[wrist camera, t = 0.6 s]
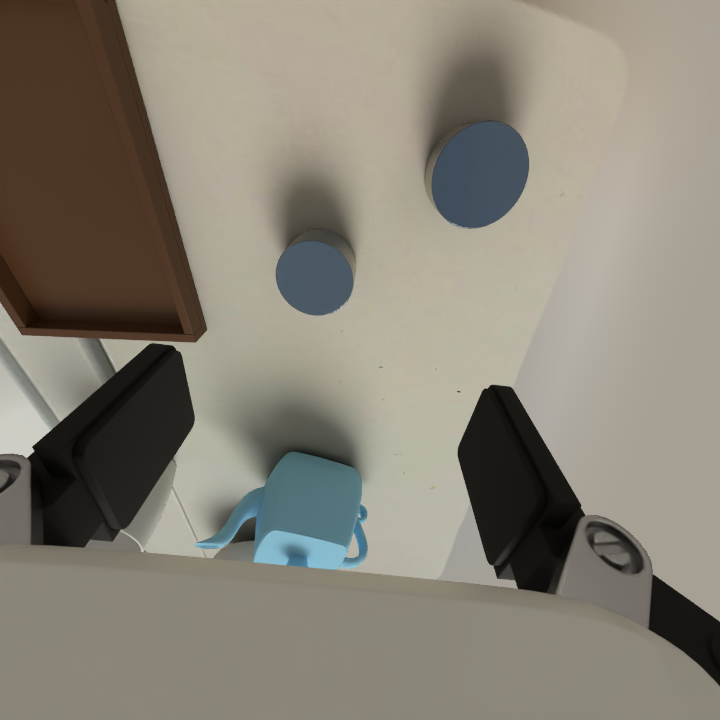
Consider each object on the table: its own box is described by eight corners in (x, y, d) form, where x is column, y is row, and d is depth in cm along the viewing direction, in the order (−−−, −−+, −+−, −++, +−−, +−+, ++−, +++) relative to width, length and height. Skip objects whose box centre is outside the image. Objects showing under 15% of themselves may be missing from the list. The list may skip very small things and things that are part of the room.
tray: (-160, -19, 18) (-223, -37, 16) (111, -15, 18) (79, -33, 16) (43, 323, 30) (21, 335, 28) (207, 329, 30) (195, 342, 28)
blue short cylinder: (298, 215, 24) (287, 226, 21) (367, 247, 25) (365, 261, 22) (279, 281, 27) (267, 298, 24) (341, 307, 28) (336, 326, 25)
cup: (118, 435, 39) (48, 515, 31) (187, 448, 40) (137, 529, 31) (128, 475, 43) (70, 554, 35) (190, 486, 44) (147, 566, 36)
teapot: (241, 425, 37) (194, 523, 27) (386, 466, 40) (389, 567, 30) (227, 485, 44) (185, 580, 34) (352, 516, 46) (346, 612, 37)
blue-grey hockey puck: (453, 105, 20) (466, 99, 17) (527, 148, 21) (550, 149, 18) (410, 197, 23) (414, 205, 20) (476, 230, 24) (490, 243, 21)
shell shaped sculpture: (207, 522, 49) (186, 569, 44) (287, 519, 48) (275, 567, 42) (237, 563, 56) (223, 607, 51) (307, 561, 55) (300, 606, 50)
